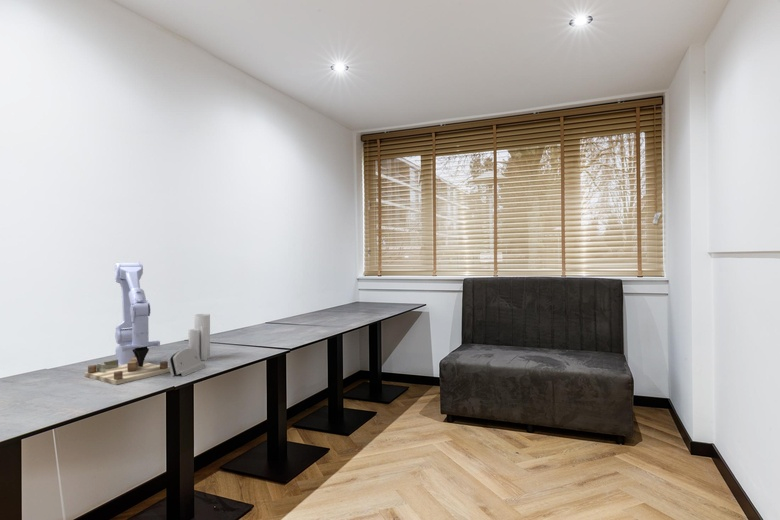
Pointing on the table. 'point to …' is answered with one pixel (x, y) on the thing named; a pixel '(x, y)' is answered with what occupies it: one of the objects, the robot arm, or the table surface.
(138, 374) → the board
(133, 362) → the folding leg
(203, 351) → the vase
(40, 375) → the table surface
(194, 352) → the grey rounded block
